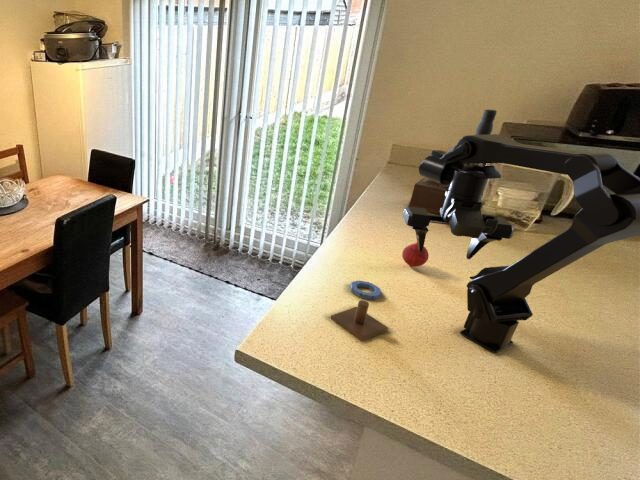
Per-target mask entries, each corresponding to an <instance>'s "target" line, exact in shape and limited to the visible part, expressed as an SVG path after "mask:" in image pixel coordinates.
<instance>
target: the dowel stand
mask: <svg viewBox="0 0 640 480" xmlns="http://www.w3.org/2000/svg"><path fill="white" fill-rule="evenodd" d="M369 307H370V303H369V302H368V301H366V300H363V299H362V300H361V299H360V300H359V301H358V303H357V306H354V307H352V308H349V309H346V310H342V311H340V312H337V313H334V314H332V315H330V320H332V321H334V323H336V324H337V325H339V326H341V327H342V328H343V329H344V330H346V331H347V332H348V333H350V334H351V335H353V336H354V337H355V338H357V339H358V340H359V341H364V340H367V339H370V338H372V337H374V336H377V335H379V334H382V333H384V332H387V331H388V330H389V327H388V326H387V325H386V324H383V323H382V322H380V321H379V320H377V319H376V318H375V317H373V316H372V315H370V314H368V311H369Z"/></svg>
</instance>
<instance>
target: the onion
mask: <svg viewBox="0 0 640 480" xmlns="http://www.w3.org/2000/svg"><path fill="white" fill-rule="evenodd" d="M401 257H402V260H403V261H404V263H405V264H406V265H408V266H409V267H410V268H416V267H421V266H423V265H425V264H426V263H427V262H428V260H429V251H428V249H427V248H426V247H425V246H424V247H423V250H422V252H419V250H418V244H417V241H416V242H415V243H411V244H408V245H407V246H405V247H404V249H402V253H401Z"/></svg>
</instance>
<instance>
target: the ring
mask: <svg viewBox="0 0 640 480" xmlns="http://www.w3.org/2000/svg"><path fill="white" fill-rule="evenodd" d="M349 288H350V292H351V294H353V295H355V296H356V297H358V298H360V299H362V300H363V299H364V300H369V301H375V300H377V299H380V298H381V297H382V291H381V288H380V286H378V285H376V284H374V283H372V282H369V281H364V280H355V281H352V282H350V284H349ZM359 288H365V289H368V290H370V291H372V292H367V291H362V290H361V289H359Z"/></svg>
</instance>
